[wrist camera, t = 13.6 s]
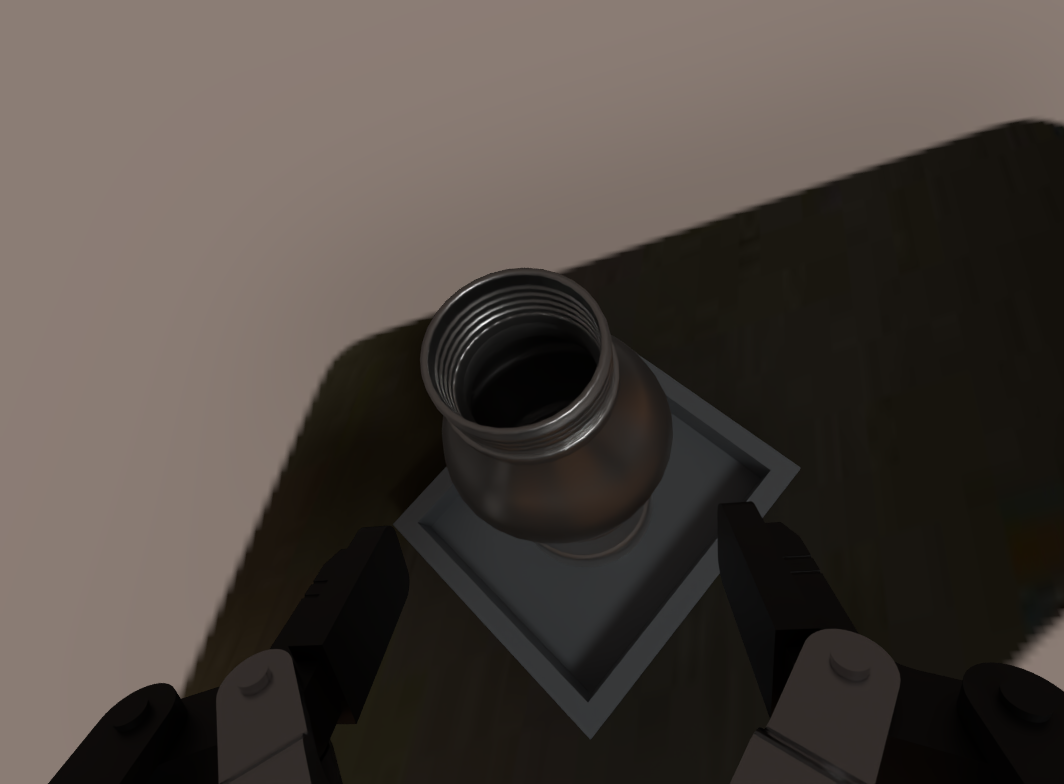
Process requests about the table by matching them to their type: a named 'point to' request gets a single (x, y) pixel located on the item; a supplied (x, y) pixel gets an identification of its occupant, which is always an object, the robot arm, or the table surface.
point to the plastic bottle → (546, 415)
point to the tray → (608, 590)
